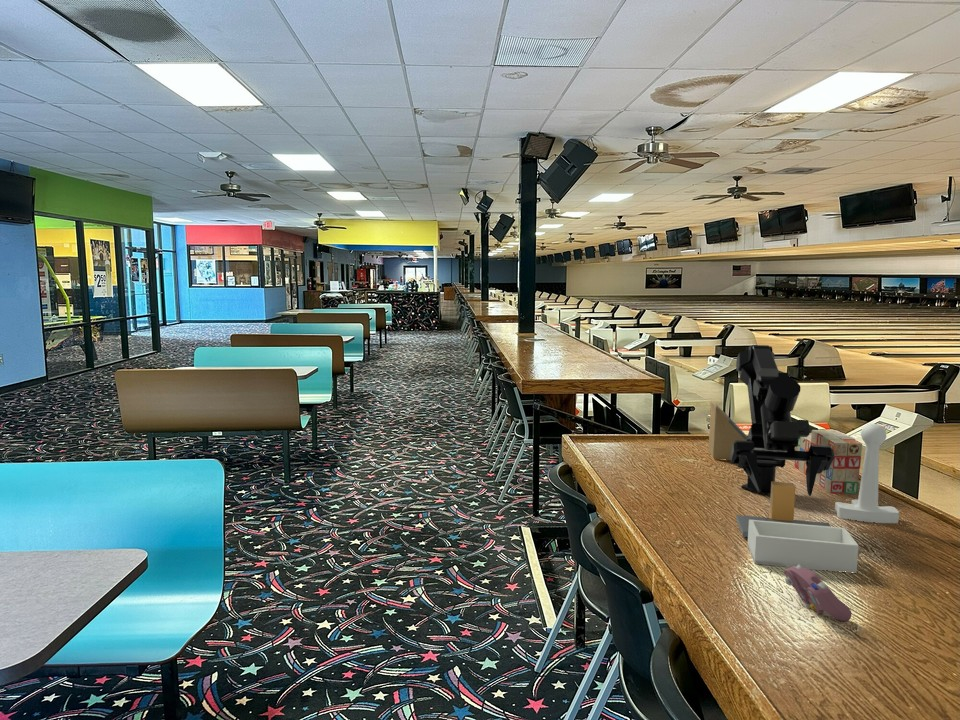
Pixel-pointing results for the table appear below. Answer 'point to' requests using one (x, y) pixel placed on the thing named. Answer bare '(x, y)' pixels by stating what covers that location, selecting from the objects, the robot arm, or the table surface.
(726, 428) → the sandwich container
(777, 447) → the robot arm
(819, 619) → the table surface
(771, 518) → the lid
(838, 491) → the stack of blocks
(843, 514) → the joystick
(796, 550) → the tub
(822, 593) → the video game controller
